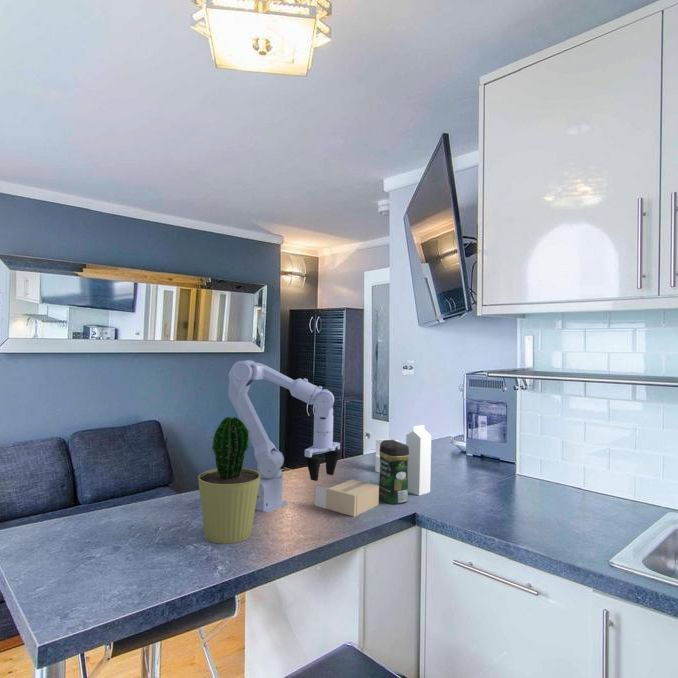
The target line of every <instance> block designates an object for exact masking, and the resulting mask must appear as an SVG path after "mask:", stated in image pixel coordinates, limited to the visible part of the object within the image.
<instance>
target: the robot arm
mask: <svg viewBox="0 0 678 678" xmlns="http://www.w3.org/2000/svg"><path fill="white" fill-rule="evenodd" d="M228 378H229V381H228V391H227V392H228V393H227V395H228V397H229V400H230V402H231V404H232V406H233V408H234V410H235V412H236V415H237V416H238V419H239V420H241V419H242V418H243V419H242V420H241V421H242V422H243V423H244V425H245V426H246V428H247V430H248V431H250V432H251V433H250V432H249V435H248V437H249V438H248V440H249V442H250V443H251V446H252V447H253V449H254V458H255V460H256V465H257V466H256V467H257V471H258V472H259V473H260V474H261V477H260V483H259V489H258V495H257V501H256V507H255V511H256V510H257V511H259V512H263V513H270V512H271V511H274V510H277V509H279V508H283V507H284V506H288V505H289V502H287V501H283V480H284V479H283V478H284V477H283V475H284V474H283V472H282V469H281V468H282V467H283V465H284V461H285V458H284V454H283V453H282V452H281V451H280V450H279V449H277V448H276V445H275V444H274V442H272V441H271V440H270V438H269V436H268V434H267V432H266V430H265V428H264V426H263V424H262V421H261V420H260V418H259V415H258V414H257V411H256V409H255V407H254V405H253V403H252V400H251V399H250V397H249V395H248V392H249V389H250V387H251V385H252V383H253V382H254V381H257V380H266V381H269V382H270V383H273V384H276V385H278V386H279V387H283V388H284V389H287V390H289V392H290V395H291V397H294V398H296V399H297V400H300V401H302V402H304V403H306V404H308V405H313V407H314V415H313V443H312V445H311V446H310V447H308V448H305V449H304V455H303V461H304V462H305V464H306V467H307V469H308V473H309V478H310V480H311V481H314V482H317V481H318V480H319V474H320V473H319V472H320V468H321V467H320V466H321V463H322V461H323V457H324V459H325V472H326V473H325V474H326V475H329V476H334V474H335V470H336V467H337V463H338V461H339V459H340V456H341V455H342V450H341V442H337V441H333V440H334V408H333V407H334V402H335V396H334V394H333V393H332V392H331V391H330V390H329V389H327V388H326V389H323V386H321V385H319V386H318V385H315V384H313V383H311V382H309V380H308V379H307V378H303V379H302V378H297V379H293V378H291V377H289V376H287V375H285V374H283V373H281V372H279V371H277V370H275V369H274V368H272V367H270V366H269V365H266V364H263V363H260V362H256V361H254V360H252V359H246V360H238V361H236V362H235V363H234V364H233V365H232V367H231V369H230V371H229V373H228ZM319 454H320V455H321V454H323V455H324V456H323V457H319V456H318V455H319Z"/></svg>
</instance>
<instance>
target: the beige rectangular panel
mask: <svg viewBox="0 0 678 678" xmlns="http://www.w3.org/2000/svg"><path fill="white" fill-rule="evenodd" d="M314 500H315V501H314V504H315V505H314V506H316V507H317V508H318V507H319V508H322V509H326V510H330V511H333V512H336V513H341V514H344V515H347V516H349V517H354V518H355V517H357V516H356V495H355V494H351V493H347V492H343V491H339V490H335V489H331V487H326V486H322V485H318V484H317V485H315V499H314Z"/></svg>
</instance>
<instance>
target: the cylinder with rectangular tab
mask: <svg viewBox="0 0 678 678" xmlns="http://www.w3.org/2000/svg"><path fill="white" fill-rule="evenodd" d="M383 440H395V441H397V442H400V439H394V438H393V439H392V438H391V439H390V438H381V437H379V438H375V462H374V463H375V465H374V466H375V467H374V471H375V472H376V473H378V472H379V473H378V474H380V453H379V451H380V444H381V442H383Z"/></svg>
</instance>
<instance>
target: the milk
mask: <svg viewBox="0 0 678 678" xmlns="http://www.w3.org/2000/svg"><path fill="white" fill-rule="evenodd" d="M425 426H426V425H425V424H419V425H413V427H412V428H413V429H412V431H411V432H409V433H407V434H406V435H405V436H406V437H405V444H406V445H407V446H408V447H409V459H408V494H412V495H416V496H419V497H420V496H422V495H423V496H424V495H426V494H429V493H431V468H432V466H431V465H432V435H431V433H429V432H428V431H427V430H426V429H425Z"/></svg>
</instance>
